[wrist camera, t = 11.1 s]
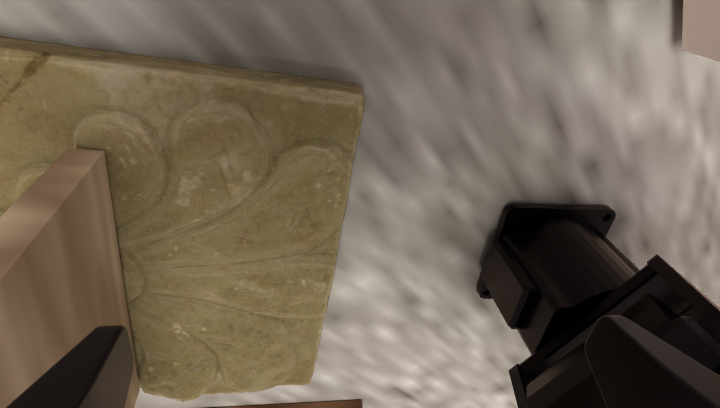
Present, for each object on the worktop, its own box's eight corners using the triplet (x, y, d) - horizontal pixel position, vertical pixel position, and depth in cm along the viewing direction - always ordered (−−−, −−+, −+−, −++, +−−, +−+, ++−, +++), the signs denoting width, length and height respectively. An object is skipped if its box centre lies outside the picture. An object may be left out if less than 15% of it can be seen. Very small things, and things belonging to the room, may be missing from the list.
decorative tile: (-195, -1, 15) (-312, 17, 12) (362, 74, 20) (376, 101, 17) (-38, 355, 25) (-83, 414, 22) (314, 355, 29) (317, 404, 26)
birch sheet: (104, 150, 16) (-93, 395, 8) (139, 390, 23) (57, 651, 15) (68, 148, 16) (-176, 396, 7) (114, 390, 23) (17, 656, 15)
